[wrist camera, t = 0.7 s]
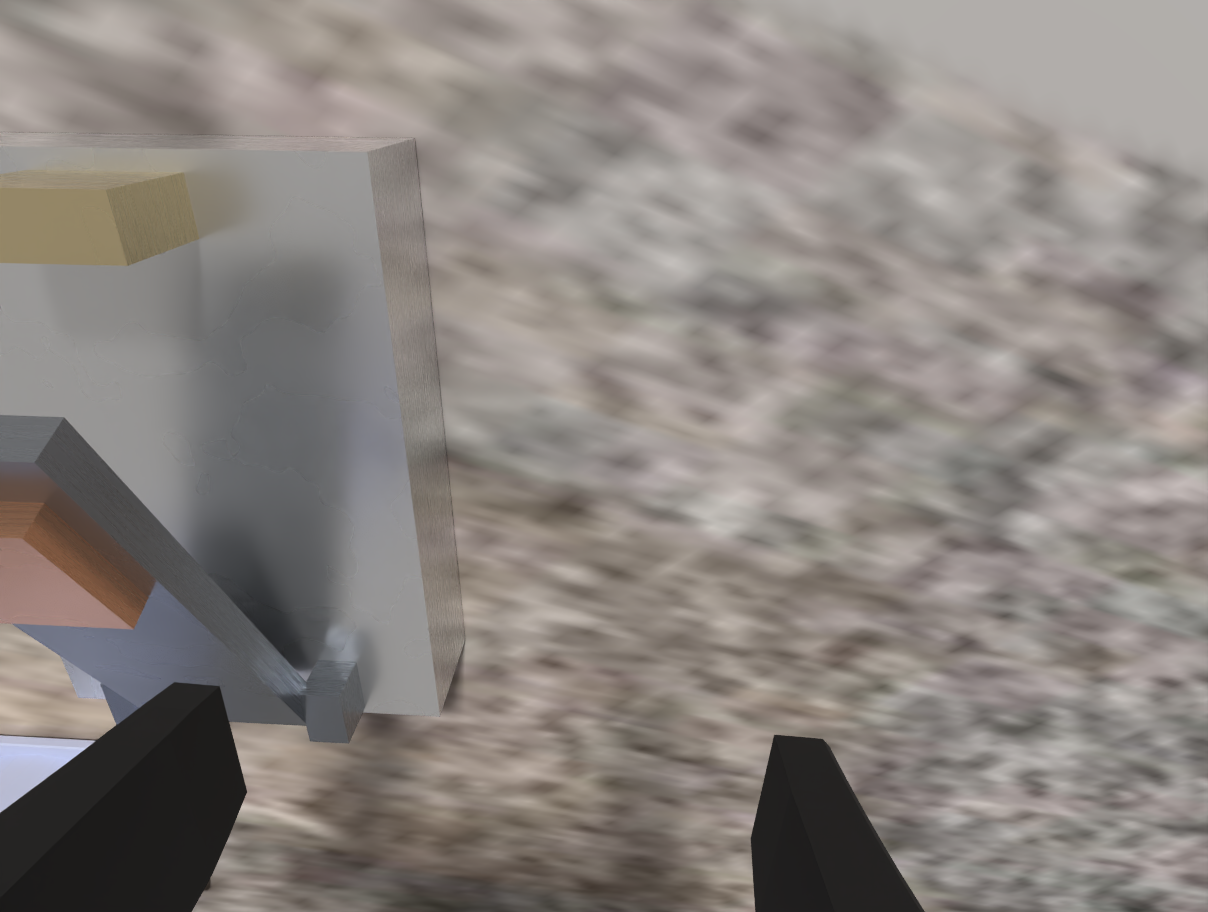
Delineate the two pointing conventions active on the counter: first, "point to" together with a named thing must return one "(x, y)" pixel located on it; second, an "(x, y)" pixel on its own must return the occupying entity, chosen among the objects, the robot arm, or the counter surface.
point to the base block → (252, 384)
